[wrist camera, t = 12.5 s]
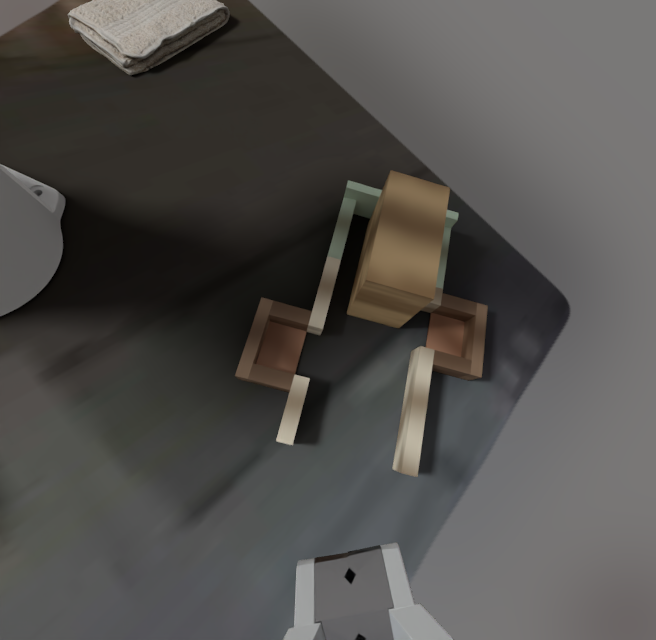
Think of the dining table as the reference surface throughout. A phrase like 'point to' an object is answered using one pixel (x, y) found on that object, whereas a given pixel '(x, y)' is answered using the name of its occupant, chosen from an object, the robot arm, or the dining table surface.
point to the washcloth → (145, 28)
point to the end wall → (369, 198)
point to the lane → (439, 355)
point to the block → (400, 251)
